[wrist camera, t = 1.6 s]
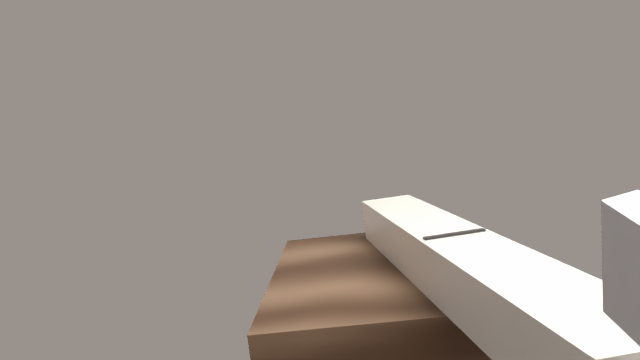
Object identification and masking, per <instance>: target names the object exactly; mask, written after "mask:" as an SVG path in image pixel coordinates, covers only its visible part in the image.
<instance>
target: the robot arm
mask: <svg viewBox="0 0 640 360" xmlns="http://www.w3.org/2000/svg"><path fill="white" fill-rule="evenodd" d="M601 222H602V223H601V225H602V287H603V312H604V313H605V314H606V315H607V316H608V317H609V318H610V319H611V320H612V321H613V322H614V323H615V324H616V325H618V326H619V327H620V328H621V329H622V330H623V331H624V332H625V333H626V334H627V335H628V336H629V337H630V338H631V339H632V340H633V341H634V342H635V343H636V344H637V345H639V346H640V191H639V190H635V191H632V192H628V193H625V194H621V195H618V196H614V197H611V198H607V199H604V200H601Z"/></svg>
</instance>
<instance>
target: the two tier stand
mask: <svg viewBox="0 0 640 360" xmlns="http://www.w3.org/2000/svg"><path fill="white" fill-rule="evenodd" d="M247 337H248V343H249V351H250V358H251V360H492V359H491V358H490V357H488V356H487V355H486V354H485V353H484V352H483V351H482V350H481V349H480V348H479V347H478V346H477V345H476V344H475V343H474V342H473V341H472V340H471V339H470V338H469V337H468V336H467V335H466V334H465V333H464V332H463V331H462V330H461V329H460V328H458V327H457V326H456V325H455V324H454V323H453V322H452V321H451V320H450V319H449V318H448V317H447V316H446V315H445V314H444V313H443V312H442V311H441V310H440V309H439V308H438V307H437V306H436V305H435V304H434V303H433V302H432V301H431V300H430V299H428V298H427V297H426V296H425V295H424V294H423V293H422V292H421V291H420V290H419V289H418V288H417V287H416V286H415V285H414V284H413V283H412V282H411V281H410V280H409V279H408V278H407V277H406V276H405V275H404V274H403V273H402V272H401V271H400V270H398V269H397V268H396V267H395V266H394V265H393V264H392V263H391V262H390V261H389V260H388V259H387V258H386V257H385V256H384V255H383V254H382V253H381V252H380V251H379V250H378V249H377V248H376V247H375V246H374V245H373V244H372V243H371V242H370V241H368V240H367V239H366V234H365V233H359V234H349V235H339V236H330V237H321V238H311V239H302V240H293V241H287V244H286V246H285V249H284V251H283V253H282V255H281V258H280V260H279V263H278V265H277V267H276V270H275V272H274V274H273V277H272V279H271V281H270V284H269V286H268V288H267V291H266V293H265V295H264V298H263V300H262V302H261V305H260V307H259V309H258V312H257V314H256V316H255V319H254V321H253V324H252V326H251V328H250V331H249V333H248V335H247Z"/></svg>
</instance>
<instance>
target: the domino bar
mask: <svg viewBox="0 0 640 360" xmlns="http://www.w3.org/2000/svg"><path fill="white" fill-rule="evenodd" d="M362 206H363V215H364V225H365V234H366V239H367V240H368V241H370V242H371V243H372V244H373V245H374V246H375V247H376V248H377V249H378V250H379V251H380V252H381V253H382V254H383V255H384V256H385V257H386V258H387V259H388V260H389V261H390V262H391V263H392V264H393V265H394V266H395V267H396V268H397V269H398V270H400V271H401V272H402V273H403V274H404V275H405V276H406V277H407V278H408V279H409V280H410V281H411V282H412V283H413V284H414V285H415V286H416V287H417V288H418V289H419V290H420V291H421V292H422V293H423V294H424V295H425V296H426V297H427V298H428V299H430V300H431V301H432V302H433V303H434V304H435V305H436V306H437V307H438V308H439V309H440V310H441V311H442V312H443V313H444V314H445V315H446V316H447V317H448V318H449V319H450V320H451V321H452V322H453V323H454V324H455V325H456V326H457V327H458V328H460V329H461V330H462V331H463V332H464V333H465V334H466V335H467V336H468V337H469V338H470V339H471V340H472V341H473V342H474V343H475V344H476V345H477V346H478V347H479V348H480V349H481V350H482V351H483V352H484V353H485V354H486V355H487V356H488V357H490V358H491V359H492V360H640V346H639V345H637V344H636V343H635V342H634V341H633V340H632V339H631V338H630V337H629V336H628V335H627V334H626V333H625V332H624V331H623V330H622V329H621V328H620V327H619V326H618V325H616V324H615V323H614V322H613V321H612V320H611V319H610V318H609V317H608V316H607V315H606V314H605V313H604V312H603V287H602V280H601V279H598V278H596V277H594V276H592V275H589V274H587V273H585V272H582V271H580V270H578V269H576V268H573V267H571V266H569V265H566V264H564V263H562V262H560V261H557V260H555V259H553V258H551V257H548V256H546V255H544V254H542V253H539V252H537V251H535V250H533V249H530V248H528V247H526V246H524V245H521V244H519V243H517V242H514V241H512V240H510V239H508V238H505V237H503V236H501V235H499V234H496V233H494V232H492V231H490V230H487V229H485V228H483V227H480V226H478V225H476V224H474V223H471V222H469V221H467V220H464V219H462V218H460V217H458V216H455V215H453V214H451V213H449V212H446V211H444V210H442V209H439V208H437V207H435V206H433V205H431V204H428V203H426V202H424V201H421V200H419V199H417V198H414V197H412V196H410V195H404V196H397V197H390V198H382V199H375V200H368V201H362Z"/></svg>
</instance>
